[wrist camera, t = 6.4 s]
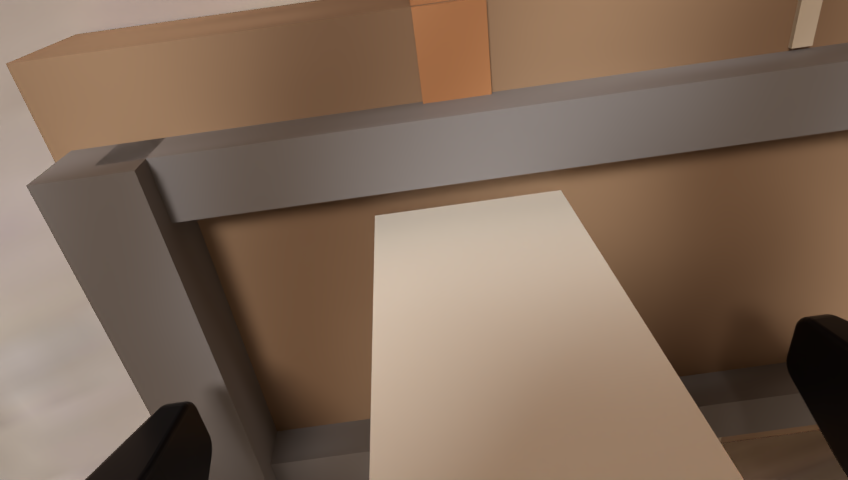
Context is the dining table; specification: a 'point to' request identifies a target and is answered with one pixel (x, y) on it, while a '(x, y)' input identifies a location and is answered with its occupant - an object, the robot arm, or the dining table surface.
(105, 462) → the robot arm
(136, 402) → the dining table surface
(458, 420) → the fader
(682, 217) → the brown wooden tray
